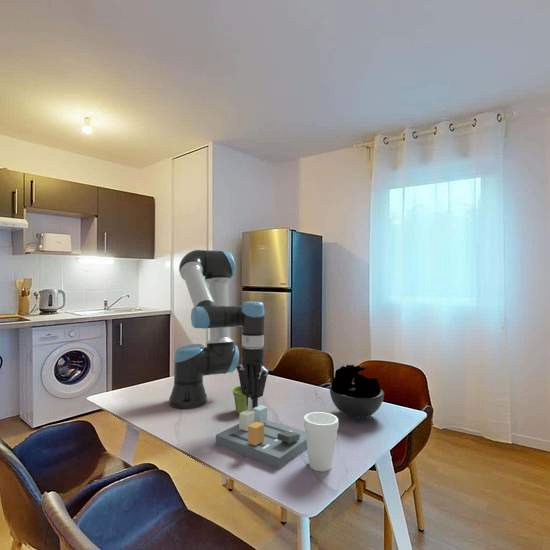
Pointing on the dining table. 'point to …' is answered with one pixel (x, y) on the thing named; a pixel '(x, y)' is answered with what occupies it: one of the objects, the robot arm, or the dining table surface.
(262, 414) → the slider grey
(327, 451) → the foam cup
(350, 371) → the bowl of black rocks
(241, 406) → the plant pot
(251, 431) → the slider orange
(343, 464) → the dining table surface
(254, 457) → the panel
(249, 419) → the slider cream
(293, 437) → the block
